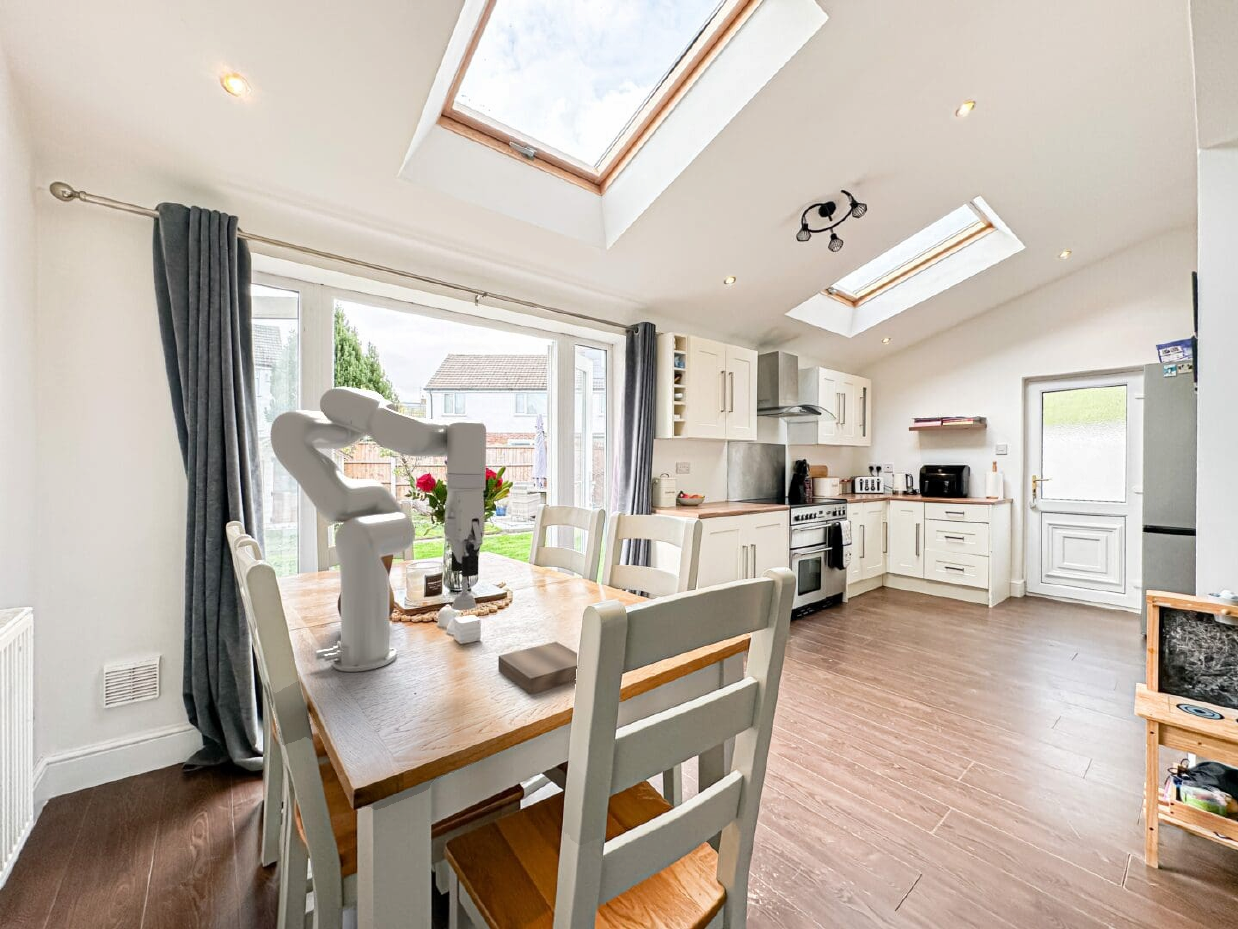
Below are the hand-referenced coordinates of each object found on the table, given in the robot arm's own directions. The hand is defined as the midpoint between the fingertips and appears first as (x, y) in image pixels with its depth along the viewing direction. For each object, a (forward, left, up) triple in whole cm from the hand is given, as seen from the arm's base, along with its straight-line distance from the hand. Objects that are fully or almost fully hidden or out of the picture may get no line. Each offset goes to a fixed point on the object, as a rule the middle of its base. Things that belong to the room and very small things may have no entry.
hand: (464, 572), depth 105 cm
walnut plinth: (+14, -7, -21) cm, 27 cm away
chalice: (0, 0, -7) cm, 7 cm away
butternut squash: (-9, +45, -22) cm, 50 cm away
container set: (+9, +29, -22) cm, 37 cm away
